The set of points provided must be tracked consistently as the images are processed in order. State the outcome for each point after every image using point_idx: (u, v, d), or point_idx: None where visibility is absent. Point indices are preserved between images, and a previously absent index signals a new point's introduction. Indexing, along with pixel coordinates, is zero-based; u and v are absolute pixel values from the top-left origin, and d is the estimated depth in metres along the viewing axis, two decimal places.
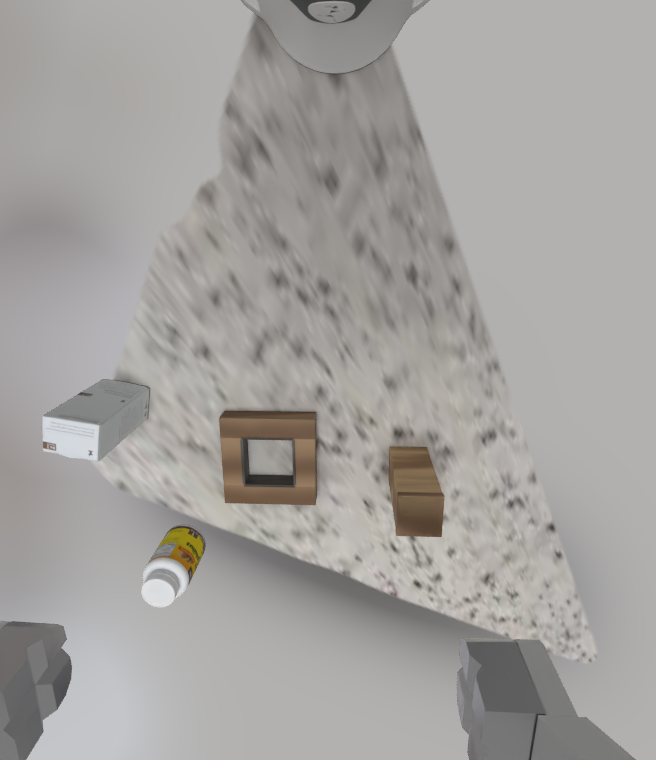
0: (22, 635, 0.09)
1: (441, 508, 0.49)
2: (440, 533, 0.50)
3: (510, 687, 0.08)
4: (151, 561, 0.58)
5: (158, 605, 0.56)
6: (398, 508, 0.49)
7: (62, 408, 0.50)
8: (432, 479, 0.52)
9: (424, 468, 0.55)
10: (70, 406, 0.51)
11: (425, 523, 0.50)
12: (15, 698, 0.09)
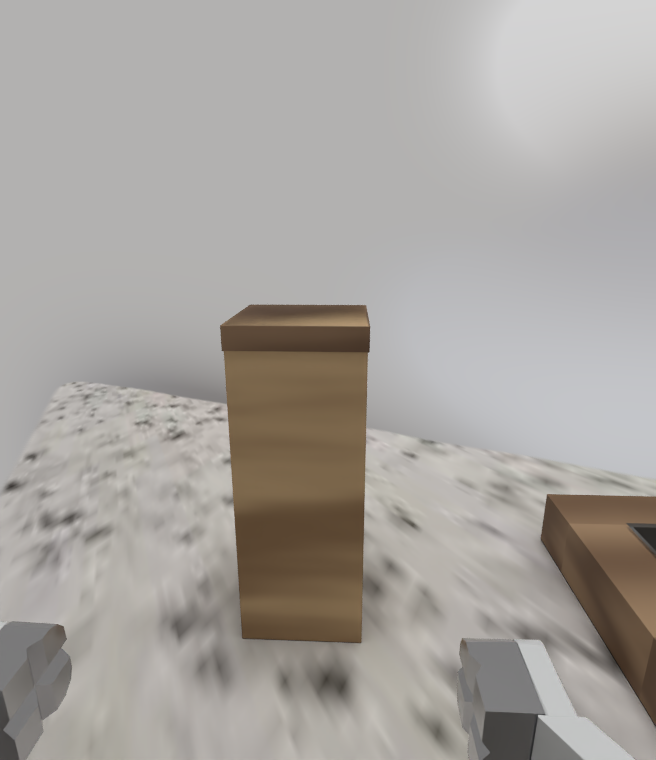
0: (22, 635, 0.09)
1: (236, 318, 0.16)
2: (251, 306, 0.19)
3: (510, 687, 0.08)
4: None
5: None
6: (365, 319, 0.16)
7: None
8: (245, 434, 0.16)
9: (263, 503, 0.17)
10: None
11: (288, 310, 0.18)
12: (15, 698, 0.09)
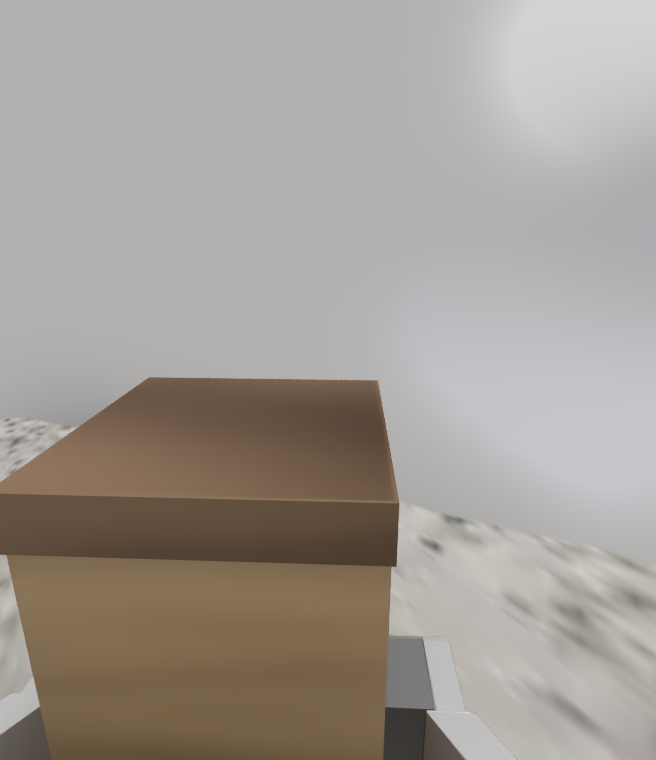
0: None
1: (68, 445, 0.07)
2: (147, 383, 0.09)
3: (405, 684, 0.08)
4: None
5: None
6: (382, 449, 0.07)
7: None
8: (85, 735, 0.07)
9: None
10: None
11: (212, 404, 0.08)
12: None
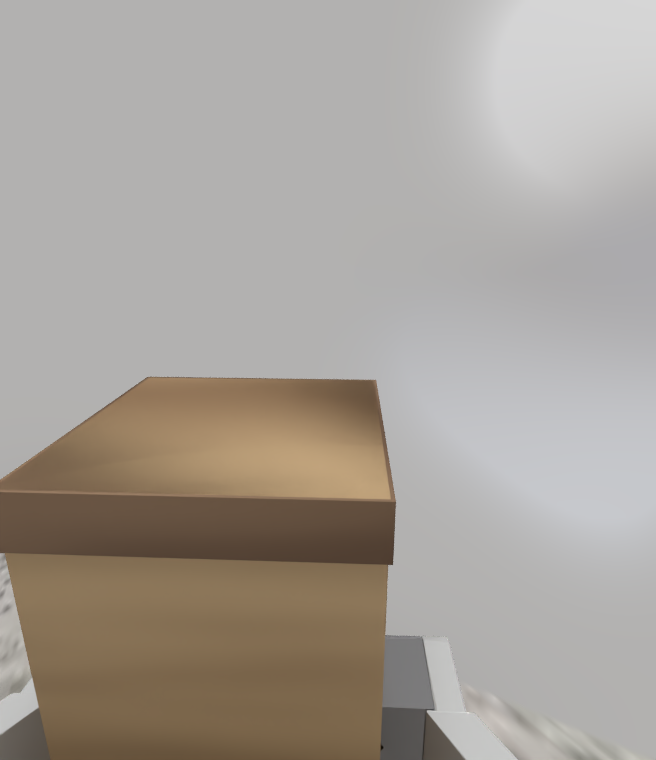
0: None
1: (66, 444, 0.07)
2: (145, 382, 0.09)
3: (405, 683, 0.08)
4: None
5: None
6: (379, 448, 0.07)
7: None
8: (83, 733, 0.07)
9: None
10: None
11: (210, 402, 0.08)
12: None
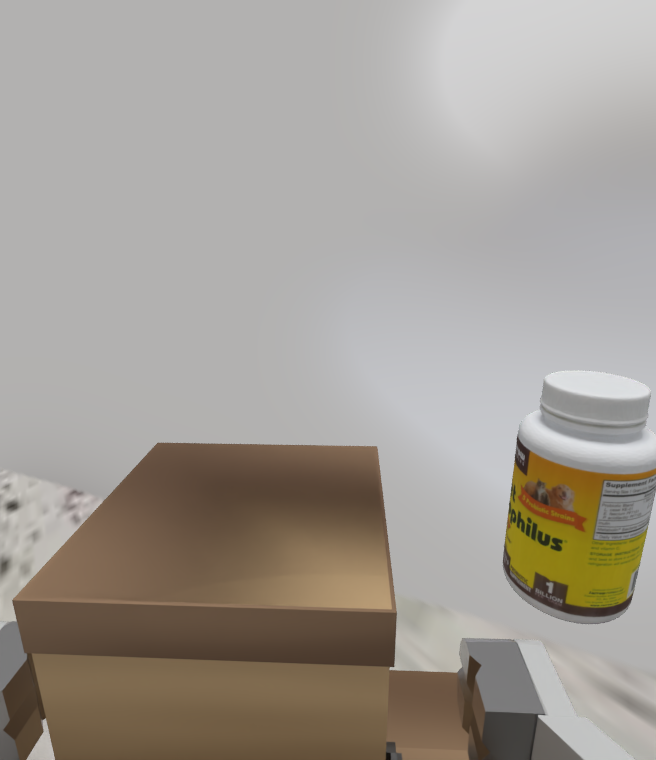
0: None
1: (85, 536, 0.07)
2: (156, 451, 0.10)
3: (510, 688, 0.08)
4: (654, 466, 0.19)
5: (580, 371, 0.22)
6: (381, 540, 0.07)
7: None
8: None
9: None
10: None
11: (218, 479, 0.09)
12: (15, 698, 0.09)
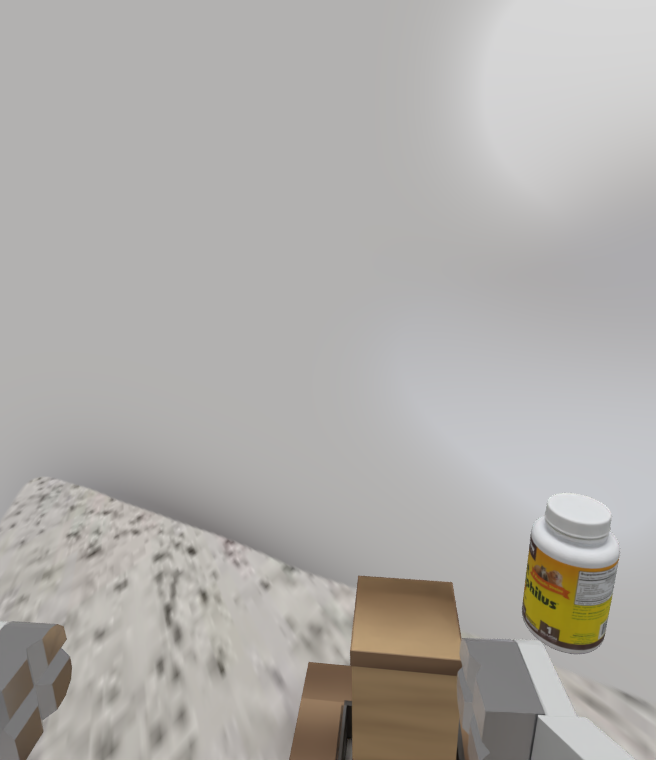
0: (22, 635, 0.09)
1: (357, 626, 0.21)
2: (360, 581, 0.24)
3: (510, 687, 0.08)
4: (611, 563, 0.32)
5: (571, 494, 0.35)
6: (458, 633, 0.21)
7: None
8: (364, 717, 0.21)
9: None
10: None
11: (392, 600, 0.23)
12: (15, 698, 0.09)
